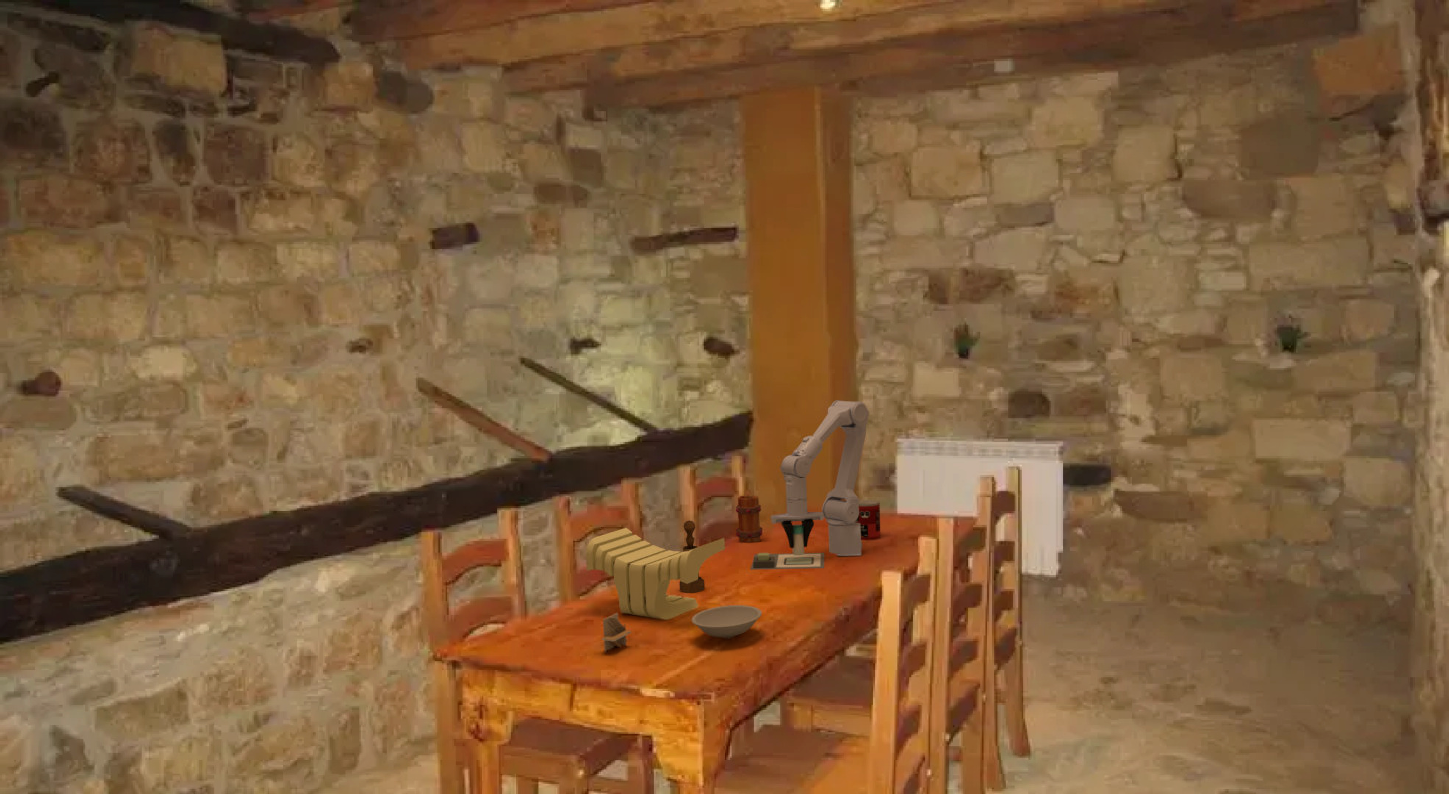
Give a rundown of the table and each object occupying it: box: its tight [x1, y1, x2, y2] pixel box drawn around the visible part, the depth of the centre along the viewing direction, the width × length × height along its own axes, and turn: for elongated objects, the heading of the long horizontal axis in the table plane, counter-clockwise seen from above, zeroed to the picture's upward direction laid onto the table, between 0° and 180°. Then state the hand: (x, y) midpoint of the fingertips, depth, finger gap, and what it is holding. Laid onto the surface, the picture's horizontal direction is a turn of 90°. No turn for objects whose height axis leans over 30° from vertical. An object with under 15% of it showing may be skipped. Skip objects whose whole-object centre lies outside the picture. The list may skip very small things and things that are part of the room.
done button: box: [757, 552, 770, 561], centre depth 316 cm, size 3×3×2 cm
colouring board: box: [750, 552, 825, 571], centre depth 320 cm, size 20×18×3 cm
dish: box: [691, 604, 763, 639], centre depth 254 cm, size 18×14×5 cm
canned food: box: [855, 499, 881, 541], centre depth 350 cm, size 8×8×11 cm
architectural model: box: [601, 612, 632, 652], centre depth 249 cm, size 3×7×7 cm, turn 152°
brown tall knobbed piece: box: [678, 520, 705, 594], centre depth 296 cm, size 7×6×18 cm
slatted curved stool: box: [585, 527, 726, 620], centre depth 277 cm, size 30×16×18 cm, turn 56°
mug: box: [735, 489, 763, 544], centre depth 352 cm, size 15×8×15 cm, turn 179°
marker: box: [792, 523, 805, 555], centre depth 319 cm, size 3×3×8 cm
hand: (798, 546), depth 319 cm, fingers closed on marker, 3 cm apart
